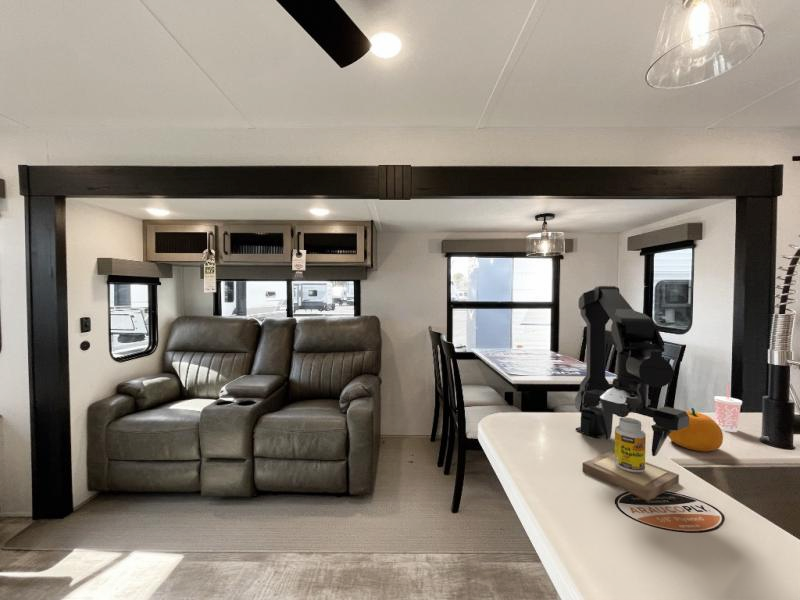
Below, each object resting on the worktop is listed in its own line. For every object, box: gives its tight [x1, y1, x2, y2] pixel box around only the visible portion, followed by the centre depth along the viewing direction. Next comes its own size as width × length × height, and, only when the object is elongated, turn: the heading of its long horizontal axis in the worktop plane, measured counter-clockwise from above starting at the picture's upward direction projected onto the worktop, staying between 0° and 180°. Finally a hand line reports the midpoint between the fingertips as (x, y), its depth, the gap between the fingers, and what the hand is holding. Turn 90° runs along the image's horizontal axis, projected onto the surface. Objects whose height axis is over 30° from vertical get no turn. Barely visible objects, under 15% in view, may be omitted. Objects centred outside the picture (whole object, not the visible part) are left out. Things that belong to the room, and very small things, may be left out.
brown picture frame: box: [582, 449, 680, 502], centre depth 75 cm, size 13×13×2 cm
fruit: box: [667, 407, 724, 452], centre depth 91 cm, size 12×12×10 cm
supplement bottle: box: [614, 416, 647, 472], centre depth 75 cm, size 6×6×10 cm
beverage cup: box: [713, 381, 743, 433], centre depth 104 cm, size 6×6×14 cm
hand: (629, 446), depth 75 cm, fingers open, 9 cm apart
